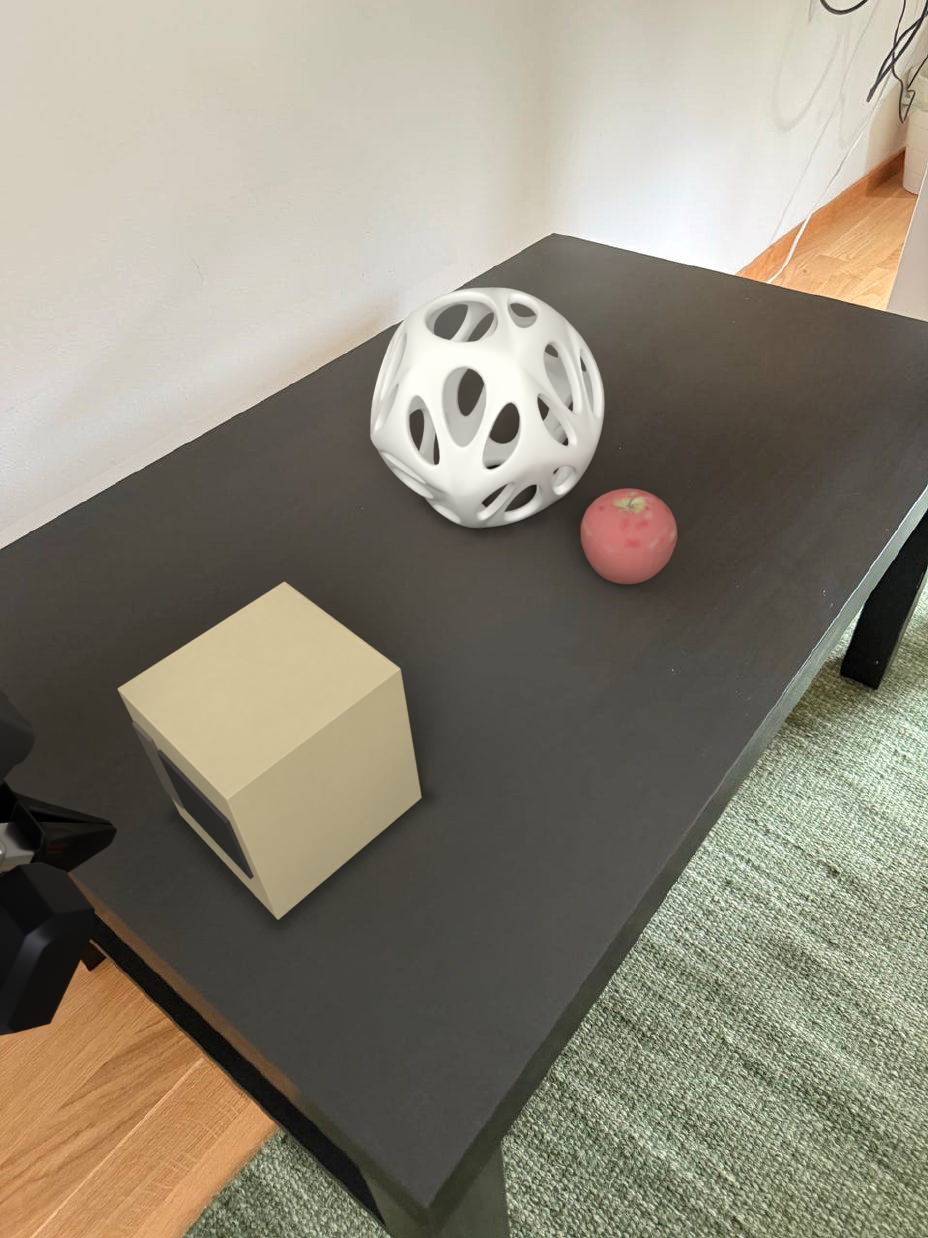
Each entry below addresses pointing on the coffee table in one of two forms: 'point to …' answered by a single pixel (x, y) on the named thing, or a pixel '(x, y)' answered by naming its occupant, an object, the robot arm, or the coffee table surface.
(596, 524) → the apple
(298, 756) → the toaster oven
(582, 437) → the decorative ball
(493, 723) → the coffee table surface
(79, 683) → the coffee table surface
